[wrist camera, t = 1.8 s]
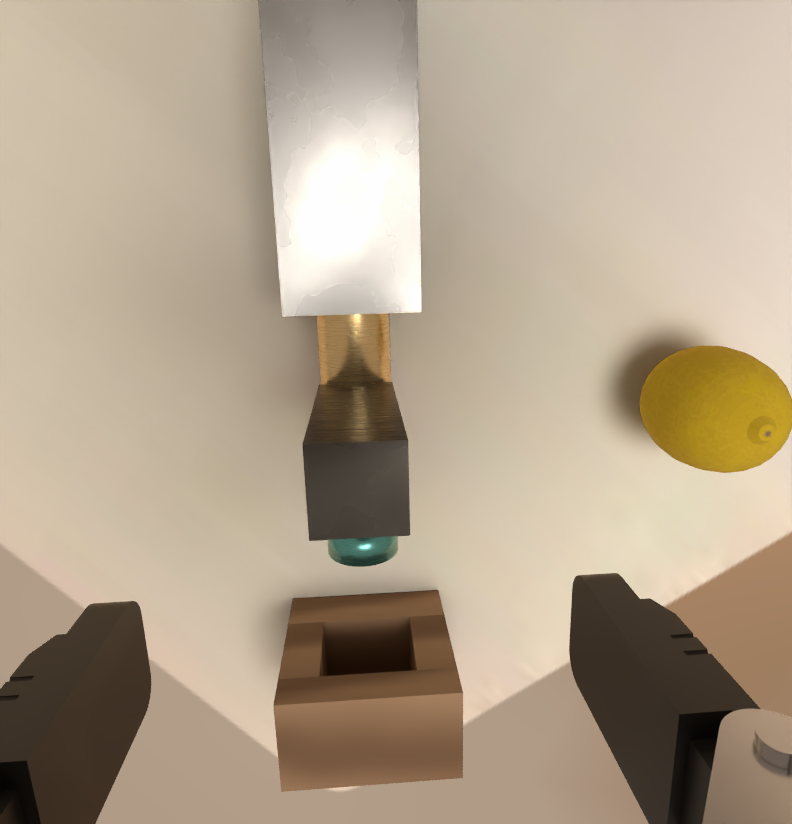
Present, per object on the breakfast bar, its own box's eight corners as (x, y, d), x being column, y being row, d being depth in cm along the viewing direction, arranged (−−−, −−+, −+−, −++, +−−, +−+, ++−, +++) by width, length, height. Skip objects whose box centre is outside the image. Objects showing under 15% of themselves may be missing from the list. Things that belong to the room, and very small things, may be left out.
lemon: (592, 403, 31) (670, 453, 23) (660, 313, 30) (766, 335, 22) (671, 458, 32) (770, 523, 24) (739, 373, 31) (866, 413, 23)
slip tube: (299, 21, 23) (256, -153, 13) (381, 20, 24) (399, -151, 14) (329, 534, 29) (316, 683, 19) (395, 531, 29) (416, 676, 19)
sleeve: (277, -10, 25) (251, -99, 19) (400, -10, 26) (415, -98, 19) (298, 302, 29) (282, 316, 22) (406, 298, 29) (421, 312, 22)
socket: (293, 598, 33) (273, 705, 25) (438, 590, 33) (462, 692, 25) (298, 668, 34) (281, 791, 26) (438, 659, 34) (462, 777, 27)
